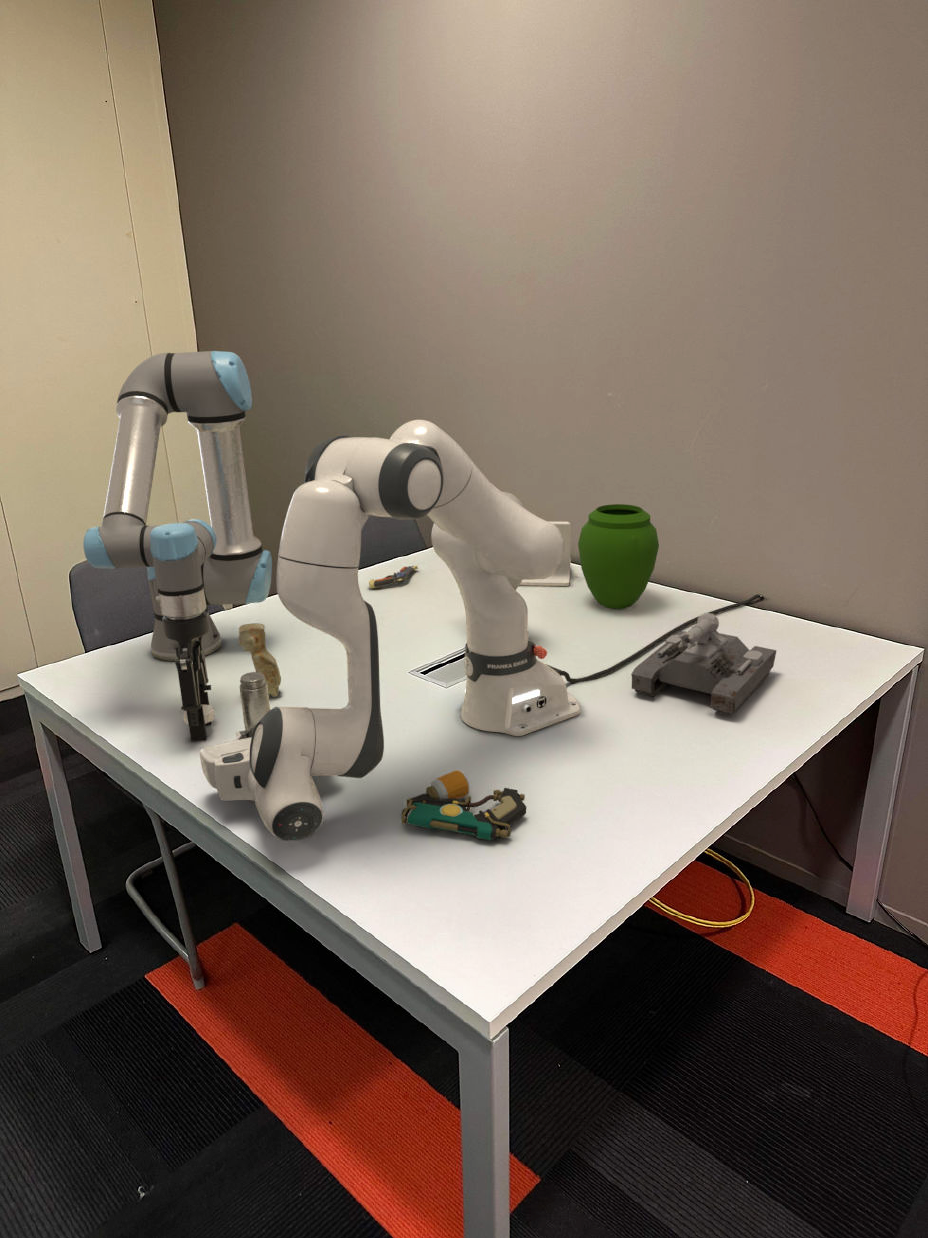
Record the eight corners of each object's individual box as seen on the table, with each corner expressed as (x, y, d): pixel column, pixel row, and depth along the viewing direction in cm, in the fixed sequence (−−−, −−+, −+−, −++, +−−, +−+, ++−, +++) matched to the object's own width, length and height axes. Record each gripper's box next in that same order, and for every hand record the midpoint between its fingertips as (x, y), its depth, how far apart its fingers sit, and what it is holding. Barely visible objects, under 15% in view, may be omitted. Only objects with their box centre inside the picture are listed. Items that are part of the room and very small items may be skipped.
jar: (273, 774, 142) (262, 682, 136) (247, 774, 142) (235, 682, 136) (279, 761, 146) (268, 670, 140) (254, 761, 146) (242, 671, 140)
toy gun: (366, 581, 230) (401, 578, 228) (385, 565, 248) (418, 562, 246) (367, 590, 231) (403, 587, 228) (386, 574, 248) (419, 571, 246)
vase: (599, 587, 227) (601, 497, 218) (668, 600, 216) (673, 505, 208) (562, 608, 212) (564, 513, 204) (634, 623, 202) (639, 523, 193)
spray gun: (537, 812, 130) (487, 868, 119) (446, 778, 138) (391, 827, 127) (539, 789, 129) (488, 844, 117) (446, 756, 137) (390, 804, 125)
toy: (680, 652, 185) (684, 586, 179) (774, 672, 174) (781, 603, 168) (629, 696, 166) (633, 623, 160) (731, 721, 154) (738, 645, 149)
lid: (220, 718, 156) (219, 710, 155) (192, 728, 152) (191, 720, 152) (206, 709, 160) (205, 701, 159) (179, 719, 156) (177, 710, 156)
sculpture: (247, 690, 173) (238, 621, 168) (283, 687, 174) (275, 618, 168) (243, 702, 168) (234, 631, 162) (281, 700, 168) (273, 629, 163)
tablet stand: (569, 585, 229) (570, 524, 223) (476, 584, 232) (475, 523, 226) (570, 566, 246) (571, 508, 240) (484, 564, 249) (483, 507, 243)
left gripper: (172, 598, 157) (189, 712, 165) (150, 632, 140) (171, 758, 148) (213, 595, 158) (228, 708, 166) (197, 629, 141) (215, 754, 149)
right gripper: (339, 737, 133) (317, 702, 145) (204, 766, 126) (193, 727, 138) (342, 772, 136) (320, 734, 148) (210, 803, 128) (198, 761, 140)
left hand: (201, 731), depth 157 cm, fingers closed on lid, 5 cm apart
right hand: (258, 731), depth 143 cm, fingers closed on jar, 4 cm apart
